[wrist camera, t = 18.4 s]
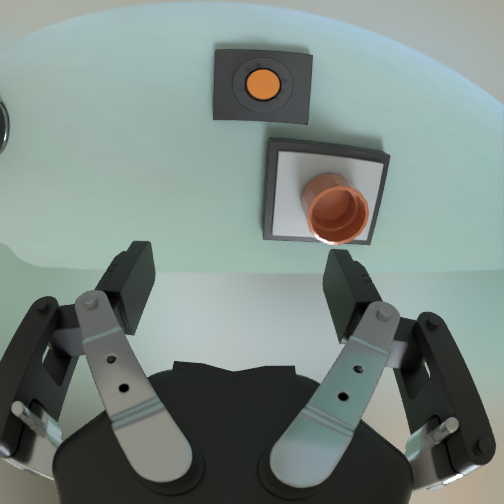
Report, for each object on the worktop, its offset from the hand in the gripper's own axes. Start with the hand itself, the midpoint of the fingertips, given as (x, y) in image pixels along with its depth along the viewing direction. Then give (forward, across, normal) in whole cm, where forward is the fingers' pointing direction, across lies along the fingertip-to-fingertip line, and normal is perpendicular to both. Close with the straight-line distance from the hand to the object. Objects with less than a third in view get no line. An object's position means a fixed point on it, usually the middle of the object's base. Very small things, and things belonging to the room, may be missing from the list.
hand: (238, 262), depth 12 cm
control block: (+21, -2, -8) cm, 23 cm away
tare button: (+19, -1, -8) cm, 21 cm away
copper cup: (+19, -10, +4) cm, 21 cm away
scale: (+21, -10, +4) cm, 24 cm away
